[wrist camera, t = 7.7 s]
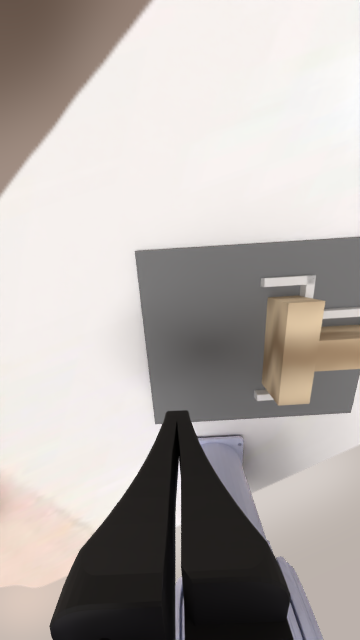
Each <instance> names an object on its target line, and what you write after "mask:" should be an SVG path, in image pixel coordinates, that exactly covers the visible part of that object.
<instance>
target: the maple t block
mask: <svg viewBox="0 0 360 640" xmlns="http://www.w3.org/2000/svg"><path fill="white" fill-rule="evenodd" d="M324 307H325V301H323V300H318V299H313V298H308V297H302V296H282V297H268V301H267V316H266V330H265V344H264V359H263V373H262V385H263V386H264V387H265V389H266V390H267V391H268V393H269V394H270V395H271V396H272V398H273V399H274V400H275V402H276V403H277V404H278V406H280V405H296V404H309V403H310V397H311V390H312V384H313V377H314V372H315V371H332V370H349V369H360V325H343V326H327V327H321V326H322V320H323V313H324Z"/></svg>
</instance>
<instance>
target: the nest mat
mask: <svg viewBox="0 0 360 640" xmlns="http://www.w3.org/2000/svg"><path fill="white" fill-rule="evenodd" d="M135 257H136V265H137V274H138V282H139V291H140V299H141V308H142V316H143V324H144V333H145V341H146V350H147V358H148V367H149V375H150V383H151V392H152V400H153V409H154V417H155V424H163V421H164V418H165V414H166V412H167V411H180V410H187V411H188V412H189V416H190V420H191V422H200V421H217V420H234V419H251V418H268V417H285V416H302V415H319V414H336V413H351V409H352V405H353V401H354V396H355V392H356V388H357V383H358V379H359V375H360V369H349V370H332V371H315V372H314V377H313V384H312V390H311V397H310V403H309V404H296V405H280V406H278V404H277V403H276V402H275V400H274V399H273V398H272V396H271V395H270V394H269V393H268V391H267V390H266V389H265V387H264V386H263V385H262V373H263V359H264V344H265V330H266V316H267V301H268V297H282V296H302V297H308V298H313V299H318V300H323V301H325V307H324V313H323V320H322V326H321V327H327V326H343V325H360V237H352V238H336V239H320V240H304V241H288V242H272V243H256V244H240V245H224V246H208V247H192V248H176V249H160V250H143V251H135Z"/></svg>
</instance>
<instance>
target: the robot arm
mask: <svg viewBox="0 0 360 640" xmlns="http://www.w3.org/2000/svg"><path fill="white" fill-rule="evenodd" d="M243 442H244V441H243V438H242V437H241V436H228V437H211V438H197V436H196V433H195V431H194V428H193V426H192V423H191V420H190V416H189V412H188V411H187V410H180V411H167V412H166V414H165V418H164V421H163V424H162V426H161V429H160V431H159V434H158V436H157V438H156V441H155V443H154V445H153V447H152V449H151V451H150V453H149V455H148V457H147V458H146V460H145V462H144V464H143V466H142V467H141V469H140V471H139V472H138V474H137V476H136V477H135V479H134V480H133V482H132V483H131V485H130V486H129V488H128V489H127V491H126V492H125V494H124V495H123V497H122V498H121V499H120V501H119V502H118V503H117V505H116V506H115V507H114V509H113V510H112V511H111V513H110V514H109V515H108V517H107V518H106V519H105V521H104V522H103V523H102V524H101V526H100V527H99V528H98V529H97V530H96V532H95V533H94V534H93V535H92V536H91V538H90V539H89V540H88V541H87V542H86V544H85V545H84V546H83V547H82V548H81V550H80V551H79V553H78V555H77V557H76V559H75V561H74V563H73V566H72V568H71V570H70V572H69V575H68V577H67V579H66V582H65V584H64V586H63V589H62V592H61V594H60V597H59V600H58V603H57V606H56V609H55V612H54V614H53V617H52V620H51V623H50V631H51V636H52V639H53V640H324V639H323V637H322V634H321V632H320V629H319V626H318V624H317V621H316V619H315V616H314V614H313V611H312V609H311V606H310V604H309V601H308V599H307V597H306V594H305V592H304V589H303V587H302V585H301V583H300V580H299V578H298V576H297V574H296V572H295V570H294V568H293V567H292V566H291V565H289V563H288V562H286V560H285V559H284V558H283V557H277V558H275V556H274V554H273V552H272V549H271V546H270V543H269V541H268V540H266V537H265V534H264V531H263V528H262V525H261V522H260V519H259V516H258V513H257V510H256V507H255V504H254V500H253V498H252V494H251V491H250V488H249V485H248V482H247V479H246V476H245V473H244V470H243V467H242V464H243ZM179 461H180V472H181V570H182V576H180V577H179V578H178V580H177V582H176V585H175V511H176V492H177V478H178V463H179Z"/></svg>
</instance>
